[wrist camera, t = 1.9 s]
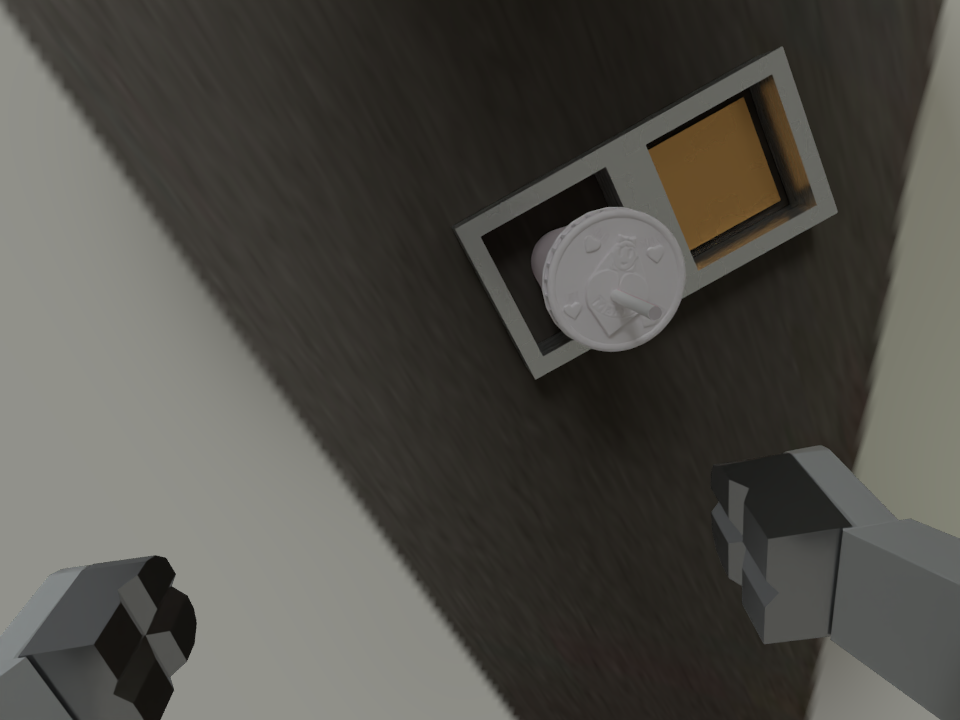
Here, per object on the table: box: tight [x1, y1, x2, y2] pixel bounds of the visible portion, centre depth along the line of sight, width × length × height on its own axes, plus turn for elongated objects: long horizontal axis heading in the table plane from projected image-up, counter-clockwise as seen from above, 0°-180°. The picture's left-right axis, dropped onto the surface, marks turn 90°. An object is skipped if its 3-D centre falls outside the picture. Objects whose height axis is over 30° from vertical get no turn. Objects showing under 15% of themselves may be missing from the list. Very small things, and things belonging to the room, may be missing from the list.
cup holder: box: [451, 46, 838, 380], centre depth 35 cm, size 10×20×2 cm, turn 118°
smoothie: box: [531, 207, 686, 352], centre depth 29 cm, size 6×6×14 cm
